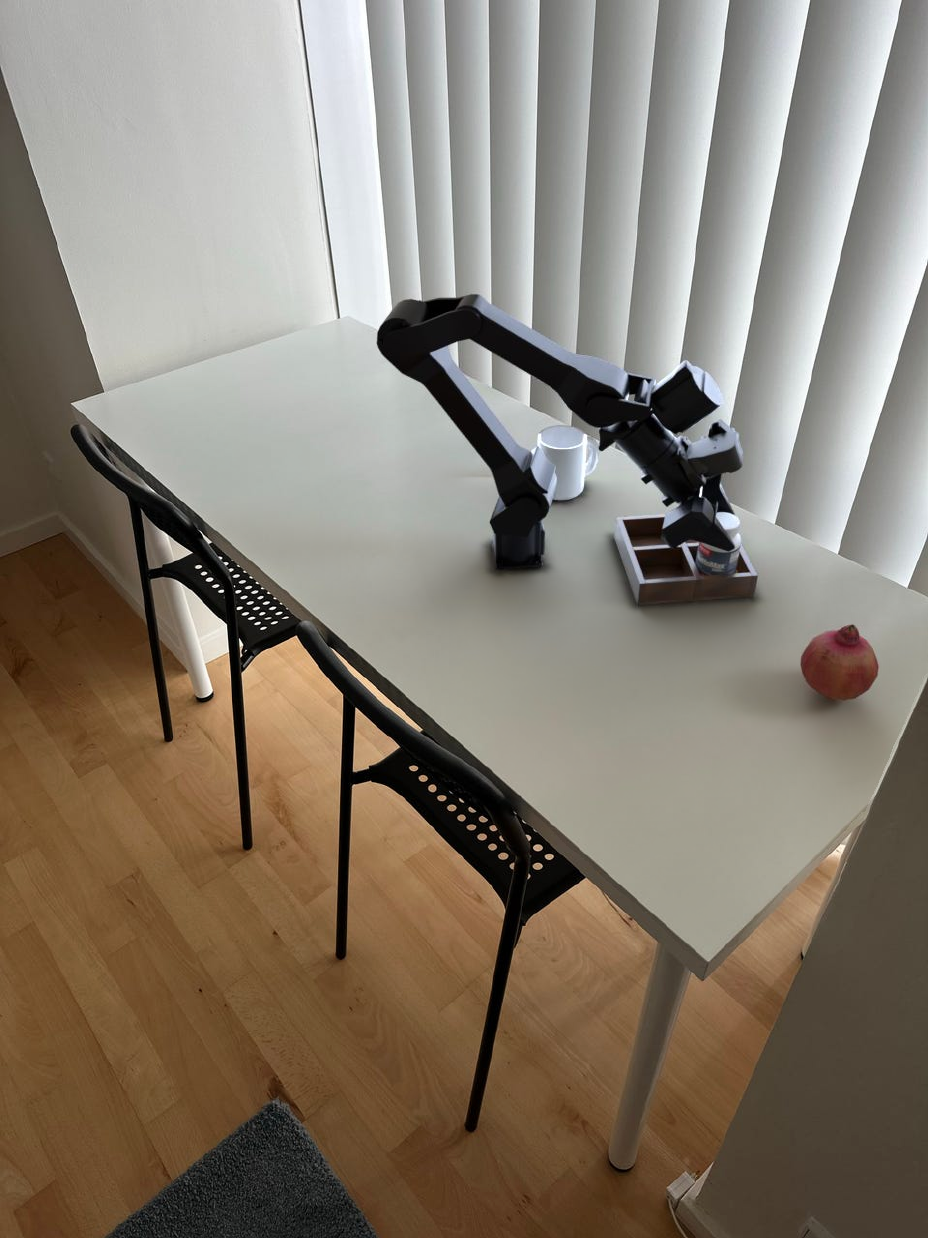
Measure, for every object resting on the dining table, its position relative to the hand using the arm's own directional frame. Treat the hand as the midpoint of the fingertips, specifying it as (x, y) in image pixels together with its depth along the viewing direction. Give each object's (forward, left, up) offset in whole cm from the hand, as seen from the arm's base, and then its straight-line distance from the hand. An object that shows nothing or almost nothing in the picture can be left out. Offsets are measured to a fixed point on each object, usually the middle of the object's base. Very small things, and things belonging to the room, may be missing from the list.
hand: (733, 536), depth 122 cm
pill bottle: (-1, +1, -7) cm, 7 cm away
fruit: (+6, -22, -8) cm, 24 cm away
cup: (-17, +26, -8) cm, 32 cm away
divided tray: (-5, +4, -7) cm, 10 cm away
